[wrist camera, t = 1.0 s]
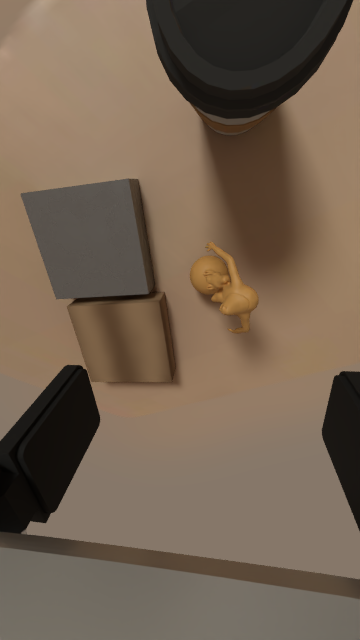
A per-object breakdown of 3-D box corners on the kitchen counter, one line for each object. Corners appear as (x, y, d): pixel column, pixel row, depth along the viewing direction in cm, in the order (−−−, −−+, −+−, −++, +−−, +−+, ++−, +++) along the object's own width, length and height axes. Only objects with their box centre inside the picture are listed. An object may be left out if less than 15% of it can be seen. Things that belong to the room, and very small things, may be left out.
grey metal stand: (137, 179, 26) (128, 178, 24) (154, 284, 31) (148, 293, 29) (39, 192, 28) (20, 193, 26) (69, 290, 33) (56, 299, 30)
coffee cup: (297, 121, 23) (403, 31, 9) (205, 166, 25) (186, 146, 12) (271, -7, 20) (374, -407, 6) (169, 59, 22) (89, -129, 9)
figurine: (181, 238, 28) (157, 270, 18) (238, 220, 27) (248, 244, 16) (202, 307, 32) (192, 368, 21) (253, 295, 30) (270, 355, 19)
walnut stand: (164, 292, 31) (159, 302, 29) (175, 367, 36) (171, 382, 34) (79, 296, 33) (66, 306, 31) (100, 368, 38) (91, 381, 36)
